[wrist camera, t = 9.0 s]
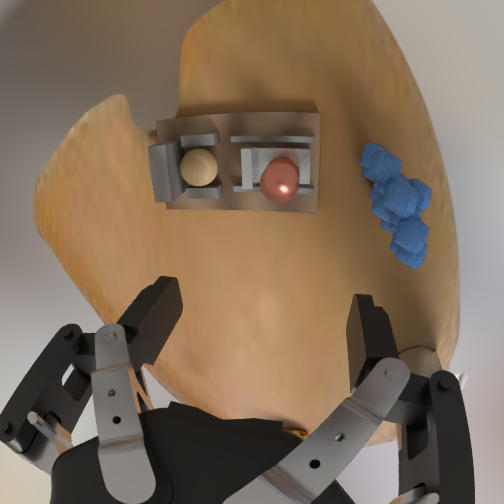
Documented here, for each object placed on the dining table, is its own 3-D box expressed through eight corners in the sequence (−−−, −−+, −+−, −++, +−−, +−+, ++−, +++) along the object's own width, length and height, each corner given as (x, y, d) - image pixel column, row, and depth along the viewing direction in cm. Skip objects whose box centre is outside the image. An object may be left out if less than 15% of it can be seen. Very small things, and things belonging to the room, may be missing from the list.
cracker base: (319, 113, 26) (323, 113, 20) (316, 208, 31) (318, 230, 26) (162, 120, 29) (134, 124, 23) (171, 205, 34) (149, 223, 29)
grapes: (421, 218, 29) (464, 272, 18) (373, 236, 31) (400, 297, 21) (395, 127, 24) (446, 141, 14) (341, 146, 27) (365, 169, 17)
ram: (310, 145, 26) (313, 159, 19) (309, 183, 28) (311, 210, 21) (247, 144, 27) (226, 158, 20) (248, 181, 29) (229, 207, 22)
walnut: (221, 145, 28) (209, 150, 24) (224, 180, 30) (212, 190, 26) (187, 147, 28) (171, 153, 25) (190, 181, 30) (176, 191, 27)
